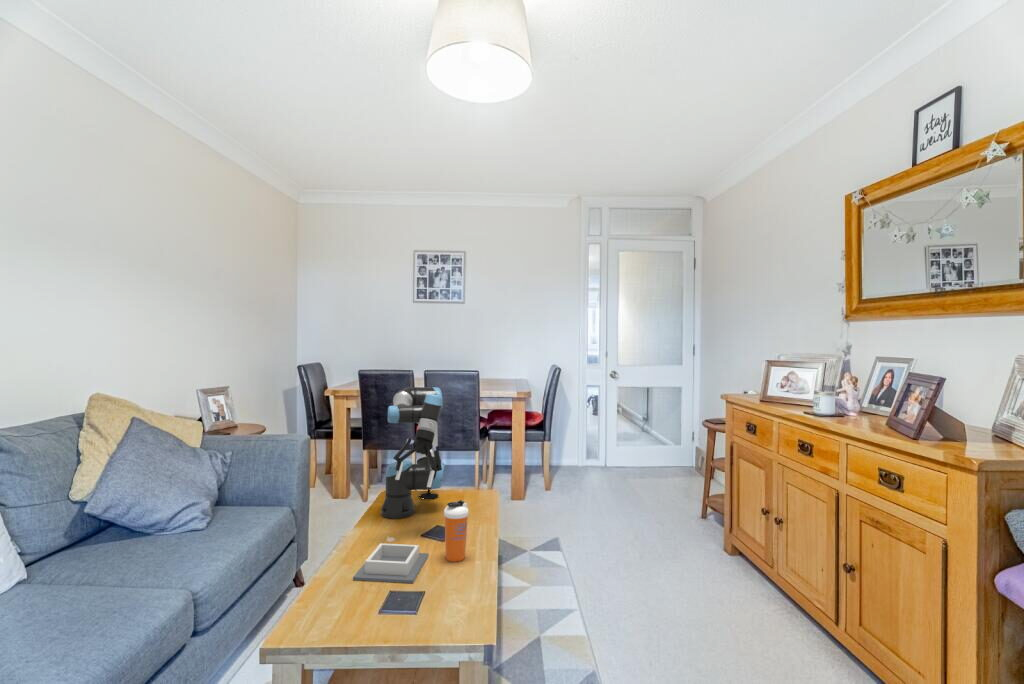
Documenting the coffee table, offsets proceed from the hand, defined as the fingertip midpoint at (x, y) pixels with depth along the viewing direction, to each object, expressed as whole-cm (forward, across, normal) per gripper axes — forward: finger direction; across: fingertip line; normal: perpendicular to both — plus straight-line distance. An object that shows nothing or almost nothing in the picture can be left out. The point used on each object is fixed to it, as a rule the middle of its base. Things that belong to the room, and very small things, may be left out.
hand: (413, 483), depth 182 cm
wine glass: (0, +29, +53) cm, 60 cm away
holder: (+29, -4, -11) cm, 31 cm away
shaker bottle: (+23, +18, -14) cm, 32 cm away
